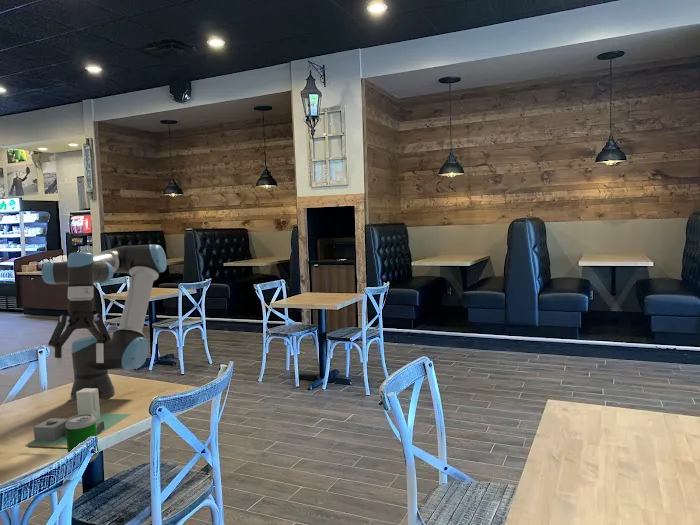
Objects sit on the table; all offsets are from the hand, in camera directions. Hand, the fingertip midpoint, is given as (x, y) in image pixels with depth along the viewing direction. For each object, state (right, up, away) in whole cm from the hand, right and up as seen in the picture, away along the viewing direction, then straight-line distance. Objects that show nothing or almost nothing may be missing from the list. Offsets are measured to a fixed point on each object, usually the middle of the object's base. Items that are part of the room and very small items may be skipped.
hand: (81, 365), depth 170 cm
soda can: (+14, -21, -25) cm, 35 cm away
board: (+3, -20, -5) cm, 21 cm away
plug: (+2, -18, +1) cm, 18 cm away
